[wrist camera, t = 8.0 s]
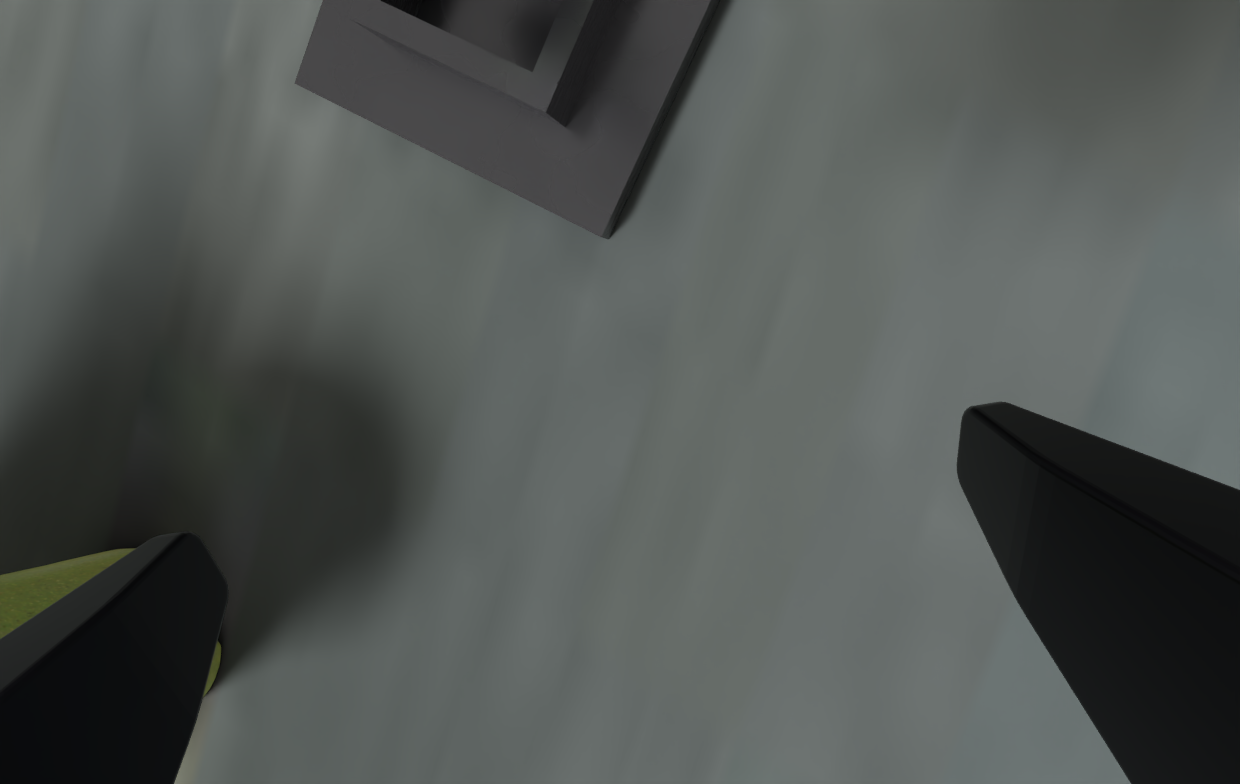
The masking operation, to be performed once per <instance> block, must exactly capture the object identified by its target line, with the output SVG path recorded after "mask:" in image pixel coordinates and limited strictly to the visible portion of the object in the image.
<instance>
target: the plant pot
mask: <svg viewBox="0 0 1240 784" xmlns="http://www.w3.org/2000/svg"><path fill="white" fill-rule="evenodd" d="M134 549H136V548H127V549H115V550H110V551H105V552H101V553H96V554H91V555H87V556H83V557H78V558H74V559H70V560H66V561H61V562H57V563H53V564H49V565H44V566H40V567H35V568H31V569H26V570H22V571H17V572H12V573H8V574H3V575H0V639H1V638H2V637H4V636H5V635H7V634H8V633H10V632H11V631H13V630H14V629H16V628H17V627H19V626H20V625H22V624H23V623H25V622H26V621H28V620H29V619H31V618H32V617H34V616H35V615H37V614H38V613H40V612H41V611H43V610H44V609H46V608H47V607H49V606H50V605H52V604H53V603H55V602H56V601H58V600H59V599H61V598H62V597H64V596H65V595H67V594H68V593H70V592H71V591H73V590H74V589H76V588H77V587H79V586H80V585H82V584H83V583H85V582H86V581H88V580H89V579H91V578H92V577H94V576H95V575H97V574H98V573H100V572H101V571H103V570H104V569H106V568H107V567H109V566H110V565H112V564H113V563H115V562H116V561H118V560H119V559H121V558H122V557H124V556H125V555H127V554H128V553H130V552H131V551H133V550H134ZM220 658H221V645H220V643H219V642H218V641H217V645H216V649H215V653H214V657H213V660H212V664H211V668H210V672H209V676H208V680H207V684H206V688H205V691H204V695H203V697H204V696H205V695H206V693H207V692H208V691H209V689H210V688H211V686H212V684H213V682H214V680H215V678H216V675H217V671H218V668H219V664H220Z"/></svg>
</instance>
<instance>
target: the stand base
mask: <svg viewBox="0 0 1240 784" xmlns="http://www.w3.org/2000/svg"><path fill="white" fill-rule="evenodd" d="M719 1H720V0H323V2H322V5H321V8H320V11H319V14H318V17H317V20H316V22H315V25H314V28H313V31H312V34H311V37H310V40H309V43H308V46H307V49H306V51H305V54H304V57H303V60H302V63H301V66H300V69H299V72H298V75H297V78H296V81H295V84H297V85H299V86H301V87H303V88H305V89H307V90H309V91H311V92H313V93H315V94H317V95H319V96H321V97H323V98H325V99H327V100H329V101H331V102H333V103H335V104H337V105H339V106H341V107H343V108H345V109H347V110H349V111H351V112H353V113H355V114H357V115H359V116H361V117H363V118H365V119H367V120H369V121H371V122H373V123H375V124H377V125H379V126H381V127H383V128H385V129H387V130H389V131H391V132H393V133H395V134H397V135H399V136H401V137H403V138H405V139H407V140H409V141H411V142H413V143H415V144H417V145H419V146H421V147H423V148H425V149H427V150H429V151H431V152H433V153H435V154H437V155H439V156H441V157H443V158H445V159H447V160H449V161H451V162H453V163H455V164H457V165H459V166H461V167H463V168H465V169H467V170H469V171H471V172H473V173H475V174H477V175H479V176H481V177H483V178H485V179H487V180H489V181H491V182H493V183H495V184H497V185H499V186H501V187H503V188H505V189H507V190H509V191H511V192H513V193H515V194H517V195H519V196H521V197H523V198H525V199H527V200H529V201H531V202H533V203H535V204H537V205H539V206H541V207H543V208H545V209H547V210H549V211H551V212H553V213H555V214H557V215H559V216H561V217H562V218H564V219H566V220H568V221H570V222H572V223H574V224H576V225H578V226H580V227H582V228H584V229H586V230H588V231H590V232H592V233H594V234H596V235H598V236H600V237H603V238H606V239H609V237H610V235H611V233H612V231H613V229H614V227H615V225H616V222H617V220H618V218H619V216H620V214H621V212H622V210H623V207H624V205H625V203H626V201H627V199H628V197H629V194H630V192H631V190H632V188H633V186H634V184H635V182H636V179H637V177H638V175H639V173H640V171H641V169H642V167H643V164H644V162H645V160H646V158H647V156H648V154H649V152H650V149H651V147H652V145H653V143H654V141H655V139H656V136H657V134H658V132H659V130H660V128H661V126H662V124H663V121H664V119H665V117H666V115H667V113H668V111H669V109H670V106H671V104H672V102H673V100H674V98H675V96H676V94H677V91H678V89H679V87H680V85H681V83H682V81H683V78H684V76H685V74H686V72H687V70H688V68H689V66H690V63H691V61H692V59H693V57H694V55H695V53H696V51H697V48H698V46H699V44H700V42H701V40H702V38H703V35H704V33H705V31H706V29H707V27H708V25H709V23H710V20H711V18H712V16H713V14H714V12H715V10H716V8H717V5H718V3H719Z"/></svg>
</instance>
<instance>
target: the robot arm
mask: <svg viewBox="0 0 1240 784" xmlns="http://www.w3.org/2000/svg"><path fill="white" fill-rule="evenodd" d="M957 474H958V479H959V482H960V485H961V487H962V489H963V492H964V494H965V496H966V498H967V500H968V502H969V504H970V506H971V508H972V510H973V512H974V514H975V517H976V519H977V521H978V523H979V525H980V527H981V529H982V531H983V533H984V535H985V537H986V540H987V542H988V544H989V546H990V548H991V550H992V552H993V554H994V556H995V558H996V560H997V562H998V565H999V567H1000V569H1001V571H1002V573H1003V575H1004V577H1005V579H1006V581H1007V583H1008V585H1009V587H1010V589H1011V591H1012V593H1013V595H1014V597H1015V598H1016V600H1017V602H1018V604H1019V605H1020V607H1021V609H1022V610H1023V612H1024V614H1025V615H1026V617H1027V619H1028V620H1029V622H1030V623H1031V625H1032V627H1033V628H1034V630H1035V631H1036V633H1037V635H1038V636H1039V638H1040V639H1041V641H1042V643H1043V644H1044V646H1045V647H1046V649H1047V650H1048V652H1049V654H1050V655H1051V657H1052V658H1053V660H1054V662H1055V663H1056V665H1057V666H1058V668H1059V670H1060V671H1061V673H1062V674H1063V676H1064V678H1065V679H1066V681H1067V682H1068V684H1069V685H1070V687H1071V689H1072V690H1073V692H1074V693H1075V695H1076V697H1077V698H1078V700H1079V701H1080V703H1081V705H1082V706H1083V708H1084V709H1085V711H1086V713H1087V714H1088V716H1089V717H1090V719H1091V721H1092V722H1093V724H1094V725H1095V727H1096V728H1097V730H1098V732H1099V733H1100V735H1101V736H1102V738H1103V740H1104V741H1105V743H1106V744H1107V746H1108V748H1109V749H1110V751H1111V752H1112V754H1113V756H1114V757H1115V759H1116V760H1117V762H1118V763H1119V765H1120V767H1121V768H1122V770H1123V771H1124V773H1125V775H1126V776H1127V778H1128V779H1129V781H1130V783H1131V784H1240V490H1239V489H1236V488H1233V487H1231V486H1228V485H1225V484H1223V483H1220V482H1217V481H1215V480H1212V479H1209V478H1207V477H1204V476H1201V475H1199V474H1196V473H1193V472H1191V471H1188V470H1185V469H1183V468H1180V467H1177V466H1175V465H1172V464H1169V463H1167V462H1164V461H1161V460H1159V459H1156V458H1153V457H1151V456H1148V455H1145V454H1143V453H1140V452H1137V451H1135V450H1132V449H1129V448H1127V447H1124V446H1121V445H1119V444H1116V443H1113V442H1111V441H1108V440H1105V439H1103V438H1100V437H1097V436H1095V435H1092V434H1089V433H1087V432H1084V431H1081V430H1079V429H1076V428H1073V427H1071V426H1068V425H1065V424H1063V423H1060V422H1057V421H1055V420H1052V419H1049V418H1047V417H1044V416H1042V415H1039V414H1036V413H1034V412H1031V411H1028V410H1026V409H1023V408H1020V407H1018V406H1015V405H1012V404H1010V403H1007V402H995V403H988V404H982V405H976V406H971V407H969V408H968V409H966V410H965V412H964V414H963V416H962V421H961V430H960V439H959V448H958V457H957ZM227 602H228V585H227V582H226V579H225V577H224V575H223V574H222V572H221V570H220V569H219V567H218V565H217V564H216V562H215V561H214V559H213V557H212V556H211V554H210V552H209V551H208V549H207V547H206V546H205V544H204V542H203V541H202V539H201V538H200V537H199V536H198V535H197V534H195V533H193V532H190V531H183V532H177V533H170V534H164V535H158V536H156V537H153V538H151V539H149V540H148V541H146V542H145V543H143V544H142V545H140V546H139V547H137V548H136V549H134V550H133V551H131V552H130V553H128V554H127V555H125V556H124V557H122V558H121V559H119V560H118V561H116V562H115V563H113V564H112V565H110V566H109V567H107V568H106V569H104V570H103V571H101V572H100V573H98V574H97V575H95V576H94V577H92V578H91V579H89V580H88V581H86V582H85V583H83V584H82V585H80V586H79V587H77V588H76V589H74V590H73V591H71V592H70V593H68V594H67V595H65V596H64V597H62V598H61V599H59V600H58V601H56V602H55V603H53V604H52V605H50V606H49V607H47V608H46V609H44V610H43V611H41V612H40V613H38V614H37V615H35V616H34V617H32V618H31V619H29V620H28V621H26V622H25V623H23V624H22V625H20V626H19V627H17V628H16V629H14V630H13V631H11V632H10V633H8V634H7V635H5V636H4V637H2V638H1V639H0V784H174V782H175V779H176V777H177V774H178V771H179V768H180V766H181V763H182V760H183V758H184V755H185V752H186V749H187V747H188V744H189V741H190V738H191V735H192V732H193V729H194V726H195V723H196V720H197V717H198V713H199V710H200V706H201V703H202V699H203V695H204V691H205V688H206V684H207V680H208V676H209V672H210V668H211V664H212V660H213V657H214V653H215V649H216V645H217V641H218V637H219V633H220V629H221V625H222V622H223V618H224V614H225V610H226V606H227Z"/></svg>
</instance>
